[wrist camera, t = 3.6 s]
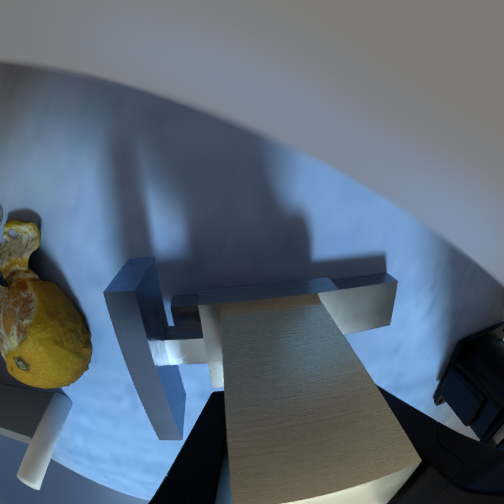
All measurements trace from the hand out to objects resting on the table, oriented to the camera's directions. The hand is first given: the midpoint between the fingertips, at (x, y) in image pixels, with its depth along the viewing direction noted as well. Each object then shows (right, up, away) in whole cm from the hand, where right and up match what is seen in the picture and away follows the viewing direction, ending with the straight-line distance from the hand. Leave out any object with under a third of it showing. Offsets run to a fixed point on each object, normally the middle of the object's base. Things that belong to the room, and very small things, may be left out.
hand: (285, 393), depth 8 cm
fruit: (-12, +2, +4) cm, 13 cm away
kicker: (-2, +1, +4) cm, 4 cm away
